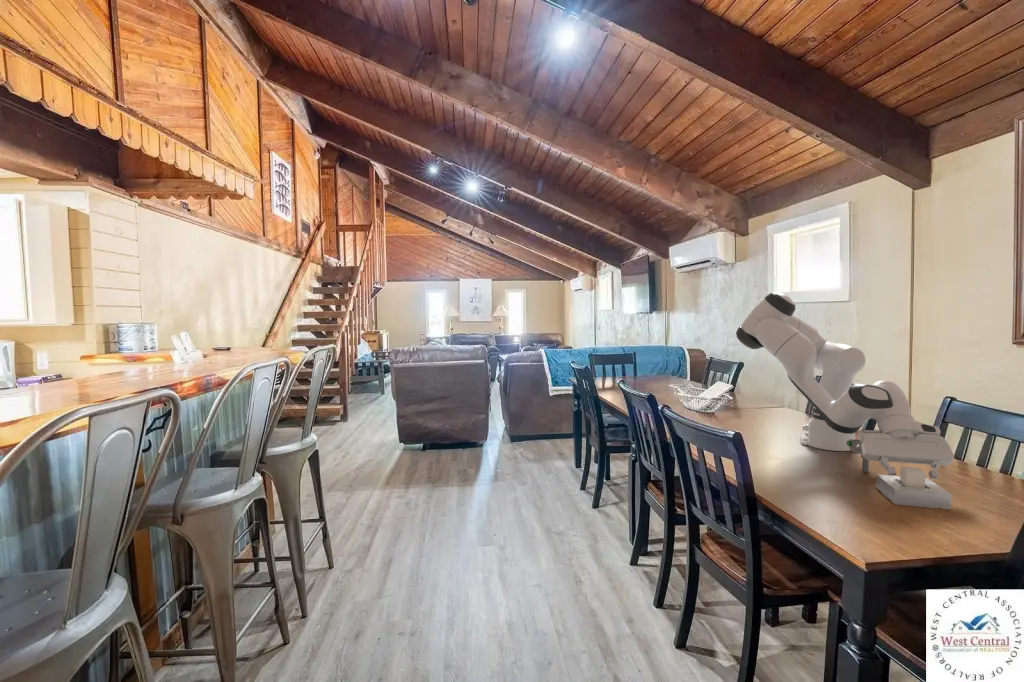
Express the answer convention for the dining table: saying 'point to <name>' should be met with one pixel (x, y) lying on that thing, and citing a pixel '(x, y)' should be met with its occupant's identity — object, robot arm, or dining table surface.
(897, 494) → the grey square socket base
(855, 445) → the mechanical component
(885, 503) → the dining table surface
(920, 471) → the plug
